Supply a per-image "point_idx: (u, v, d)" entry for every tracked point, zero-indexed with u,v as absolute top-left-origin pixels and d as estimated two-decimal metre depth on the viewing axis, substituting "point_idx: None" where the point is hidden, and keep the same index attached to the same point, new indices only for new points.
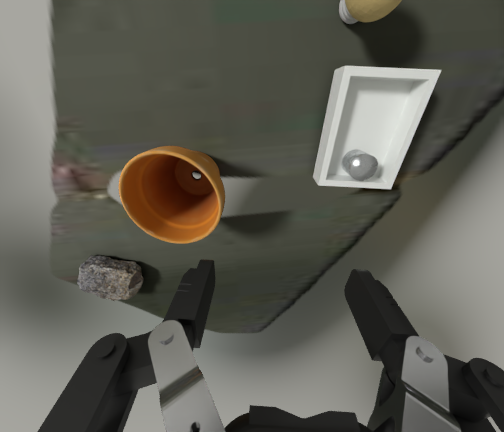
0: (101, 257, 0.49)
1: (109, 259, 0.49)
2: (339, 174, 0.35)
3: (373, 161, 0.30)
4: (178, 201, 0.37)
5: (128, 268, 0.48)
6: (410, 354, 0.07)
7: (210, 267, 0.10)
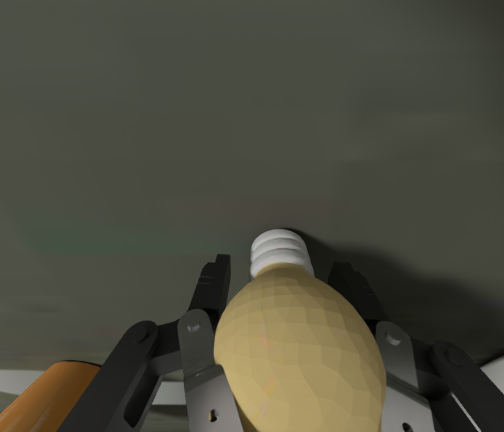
0: None
1: None
2: None
3: None
4: None
5: None
6: (380, 340, 0.07)
7: (228, 261, 0.11)
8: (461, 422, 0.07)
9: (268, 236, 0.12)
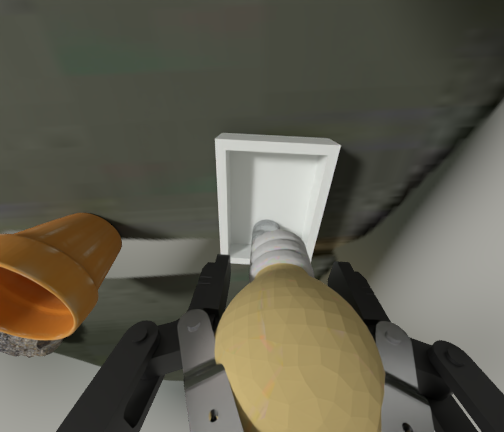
0: None
1: None
2: None
3: None
4: None
5: None
6: (380, 340, 0.07)
7: (228, 261, 0.11)
8: (461, 422, 0.07)
9: (268, 237, 0.12)
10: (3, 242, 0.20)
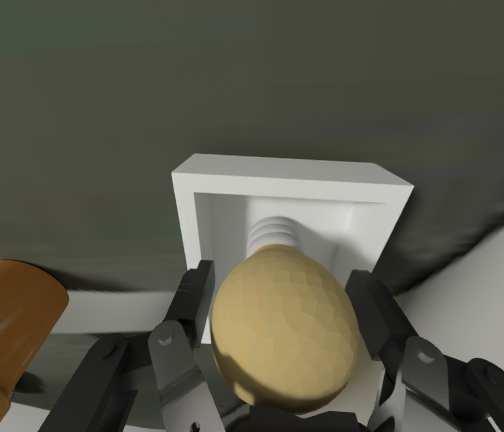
0: None
1: None
2: None
3: None
4: None
5: None
6: (410, 354, 0.07)
7: (210, 267, 0.10)
8: None
9: (263, 222, 0.13)
10: None
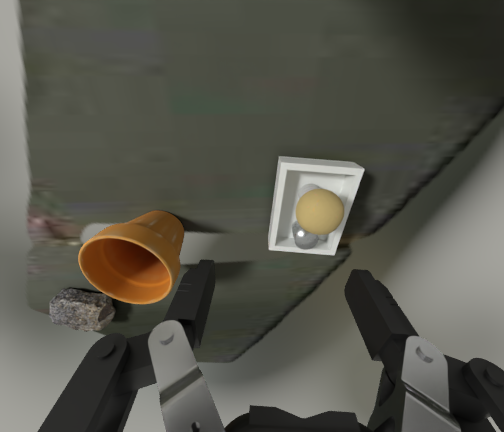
0: (72, 290, 0.50)
1: (80, 292, 0.50)
2: (290, 237, 0.38)
3: (314, 235, 0.33)
4: (143, 256, 0.40)
5: (98, 301, 0.49)
6: (410, 354, 0.07)
7: (210, 267, 0.10)
8: None
9: (307, 185, 0.32)
10: (132, 228, 0.29)
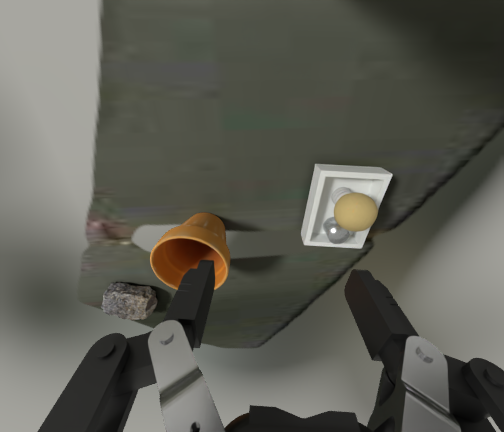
0: (121, 284, 0.56)
1: (127, 285, 0.56)
2: (321, 233, 0.43)
3: (345, 231, 0.38)
4: (191, 252, 0.45)
5: (144, 293, 0.55)
6: (410, 354, 0.07)
7: (210, 267, 0.10)
8: None
9: (340, 188, 0.37)
10: (195, 229, 0.34)
